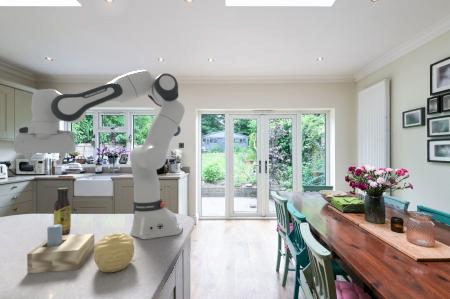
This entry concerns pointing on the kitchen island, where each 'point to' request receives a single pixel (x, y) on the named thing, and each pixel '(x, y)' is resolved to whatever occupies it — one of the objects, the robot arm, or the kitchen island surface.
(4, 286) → the kitchen island surface
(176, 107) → the robot arm
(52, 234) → the pin
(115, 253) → the pale yellow rounded lump
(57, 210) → the sauce bottle
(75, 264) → the bore block
